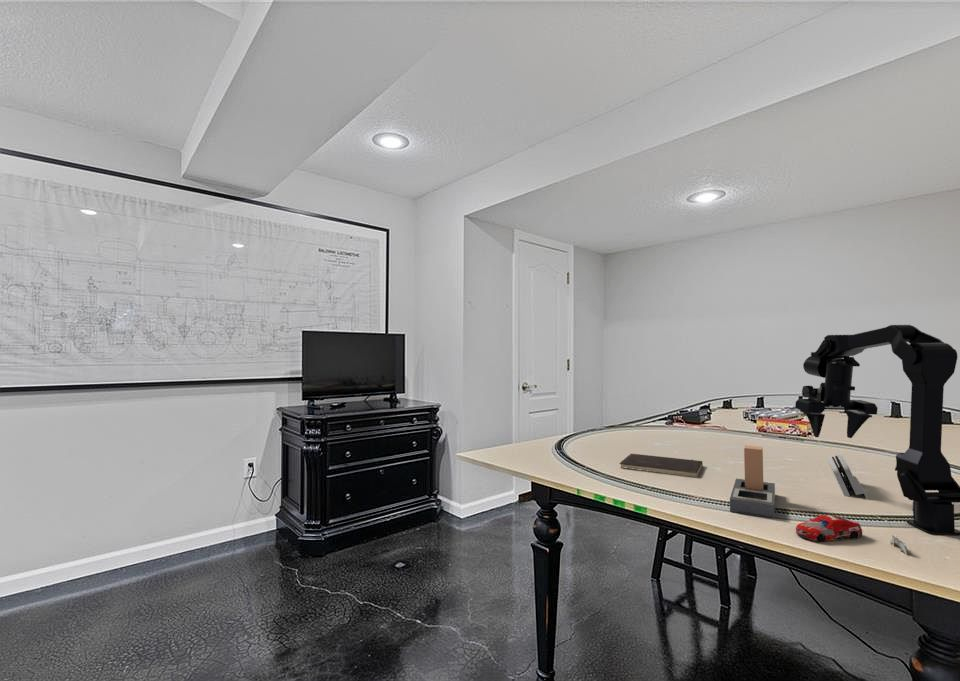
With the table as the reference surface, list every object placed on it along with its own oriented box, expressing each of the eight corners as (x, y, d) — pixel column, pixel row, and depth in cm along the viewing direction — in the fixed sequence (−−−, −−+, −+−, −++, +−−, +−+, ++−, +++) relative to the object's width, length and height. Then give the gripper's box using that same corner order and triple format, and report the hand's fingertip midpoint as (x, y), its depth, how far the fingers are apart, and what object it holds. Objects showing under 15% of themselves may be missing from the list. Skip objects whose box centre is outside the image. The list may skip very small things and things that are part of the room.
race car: (811, 545, 92) (810, 525, 92) (789, 534, 98) (788, 515, 98) (868, 540, 94) (868, 520, 94) (844, 530, 100) (843, 511, 100)
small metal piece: (920, 559, 86) (919, 543, 86) (904, 558, 87) (904, 542, 87) (903, 545, 92) (903, 530, 92) (889, 544, 92) (888, 529, 92)
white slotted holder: (869, 499, 118) (851, 460, 120) (847, 502, 121) (830, 464, 123) (858, 482, 133) (842, 448, 135) (839, 486, 135) (823, 452, 137)
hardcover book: (696, 479, 140) (696, 472, 140) (619, 470, 151) (619, 462, 151) (702, 467, 153) (702, 460, 153) (631, 459, 165) (631, 453, 165)
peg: (763, 501, 118) (762, 449, 118) (745, 498, 120) (744, 448, 120) (763, 496, 121) (762, 446, 122) (746, 494, 123) (745, 445, 124)
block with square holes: (774, 518, 106) (774, 504, 106) (730, 511, 111) (729, 497, 111) (775, 494, 123) (774, 482, 123) (736, 489, 128) (736, 477, 128)
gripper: (847, 376, 134) (842, 429, 135) (784, 375, 133) (779, 428, 135) (882, 383, 123) (876, 441, 124) (812, 382, 122) (807, 439, 124)
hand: (832, 437), depth 127 cm, fingers open, 9 cm apart
